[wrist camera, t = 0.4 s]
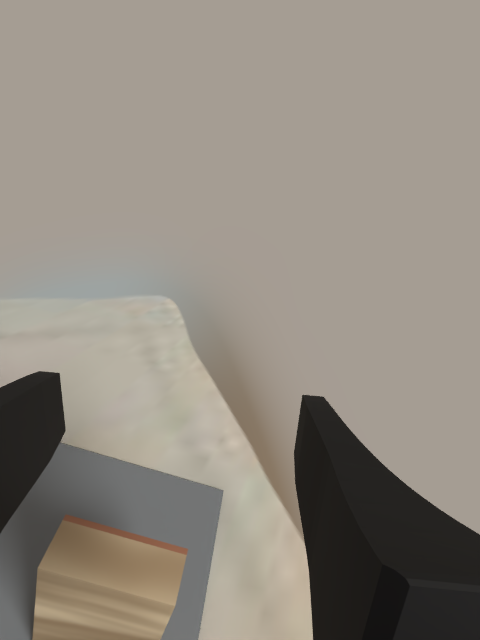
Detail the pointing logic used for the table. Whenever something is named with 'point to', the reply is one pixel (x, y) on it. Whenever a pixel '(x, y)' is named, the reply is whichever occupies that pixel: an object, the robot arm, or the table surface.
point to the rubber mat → (114, 511)
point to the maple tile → (105, 584)
